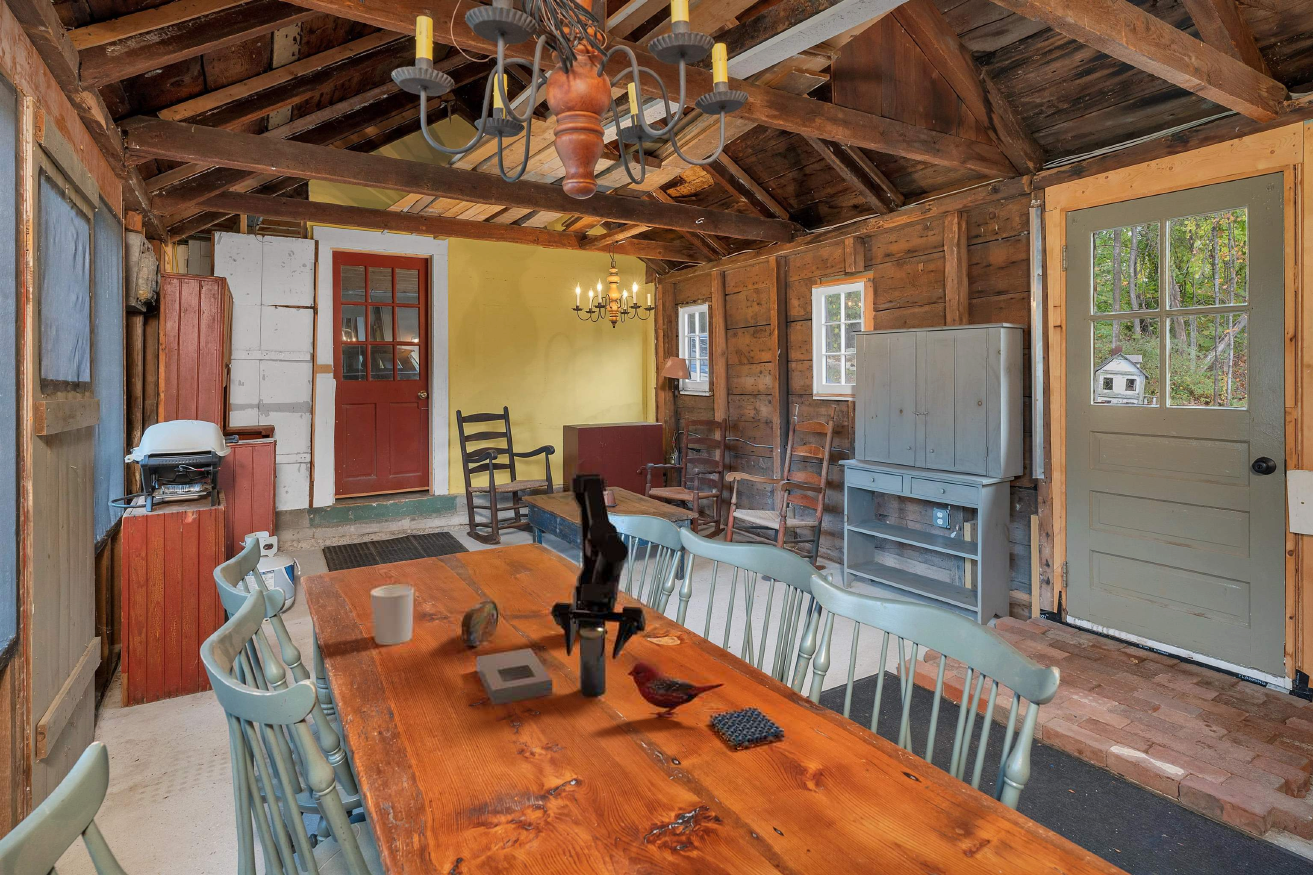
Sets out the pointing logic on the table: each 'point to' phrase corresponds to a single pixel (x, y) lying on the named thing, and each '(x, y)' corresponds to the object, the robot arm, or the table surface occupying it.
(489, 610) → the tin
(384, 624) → the white paper cup
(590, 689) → the end plug
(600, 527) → the robot arm
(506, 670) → the housing block
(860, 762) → the table surface
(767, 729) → the woven mat
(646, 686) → the decorative bird figurine
